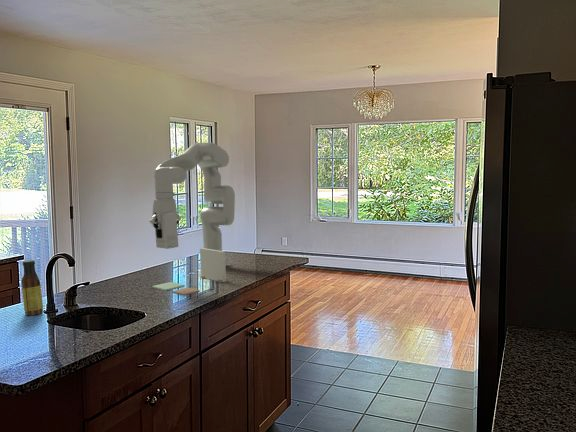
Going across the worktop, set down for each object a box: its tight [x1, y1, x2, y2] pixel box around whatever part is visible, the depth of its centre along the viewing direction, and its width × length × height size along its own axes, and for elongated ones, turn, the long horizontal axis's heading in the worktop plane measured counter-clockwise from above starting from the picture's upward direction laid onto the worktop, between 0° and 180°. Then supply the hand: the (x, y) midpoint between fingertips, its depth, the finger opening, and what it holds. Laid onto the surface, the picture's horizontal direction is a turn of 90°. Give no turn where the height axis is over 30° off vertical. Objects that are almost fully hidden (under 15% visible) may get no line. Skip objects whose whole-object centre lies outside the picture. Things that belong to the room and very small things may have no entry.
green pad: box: [151, 281, 185, 292], centre depth 234 cm, size 10×10×1 cm
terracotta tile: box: [172, 287, 200, 296], centre depth 223 cm, size 8×8×1 cm
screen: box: [199, 247, 228, 283], centre depth 245 cm, size 4×16×14 cm, turn 48°
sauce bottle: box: [21, 259, 44, 316], centre depth 195 cm, size 6×6×20 cm
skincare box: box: [154, 212, 179, 250], centre depth 231 cm, size 8×7×16 cm
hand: (166, 236), depth 231 cm, fingers closed on skincare box, 6 cm apart
